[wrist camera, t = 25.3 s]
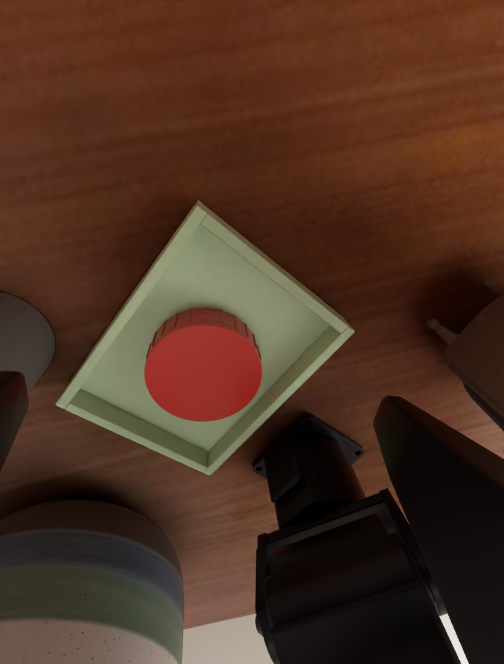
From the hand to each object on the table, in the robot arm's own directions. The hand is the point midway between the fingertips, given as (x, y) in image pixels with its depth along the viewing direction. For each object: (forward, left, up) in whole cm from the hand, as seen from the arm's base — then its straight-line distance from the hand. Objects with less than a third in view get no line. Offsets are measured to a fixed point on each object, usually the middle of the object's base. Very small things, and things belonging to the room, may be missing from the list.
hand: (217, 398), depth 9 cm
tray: (-3, +5, -12) cm, 13 cm away
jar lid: (-3, +5, -10) cm, 11 cm away
